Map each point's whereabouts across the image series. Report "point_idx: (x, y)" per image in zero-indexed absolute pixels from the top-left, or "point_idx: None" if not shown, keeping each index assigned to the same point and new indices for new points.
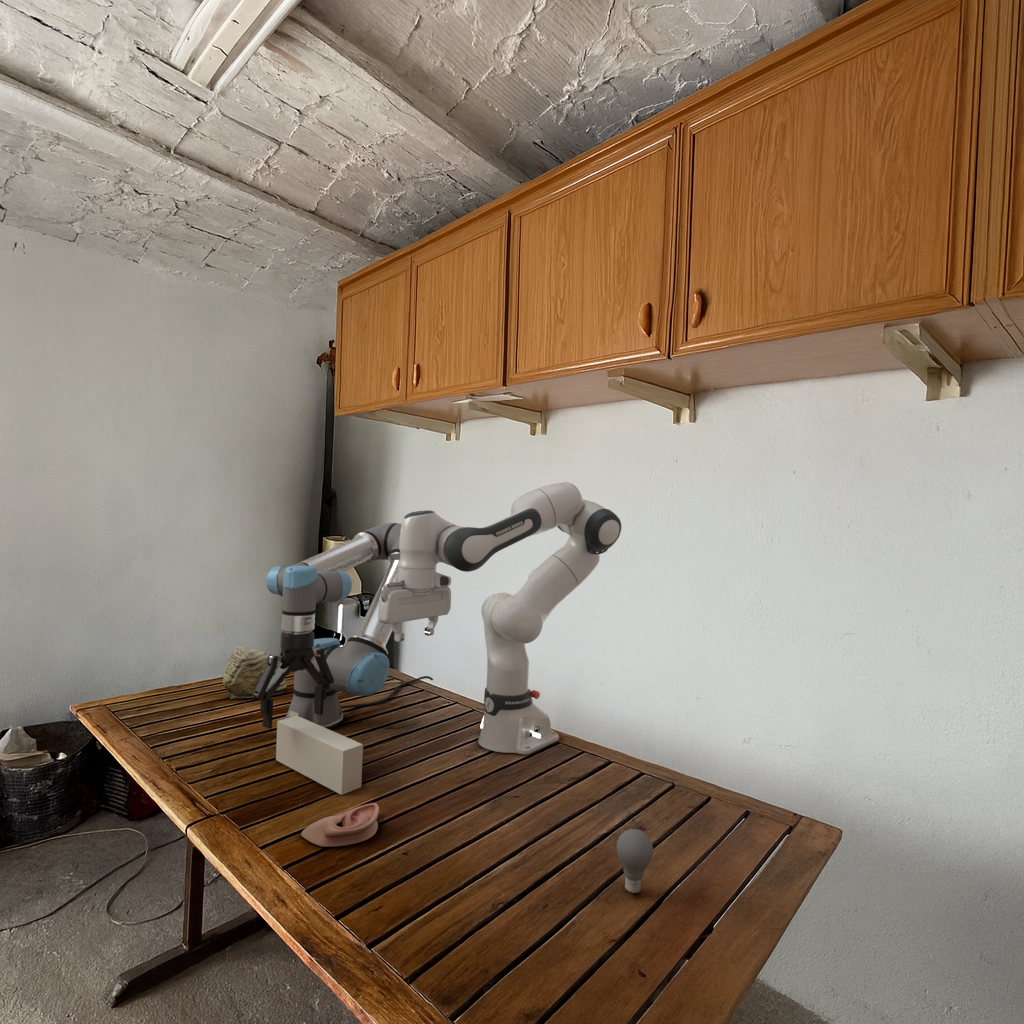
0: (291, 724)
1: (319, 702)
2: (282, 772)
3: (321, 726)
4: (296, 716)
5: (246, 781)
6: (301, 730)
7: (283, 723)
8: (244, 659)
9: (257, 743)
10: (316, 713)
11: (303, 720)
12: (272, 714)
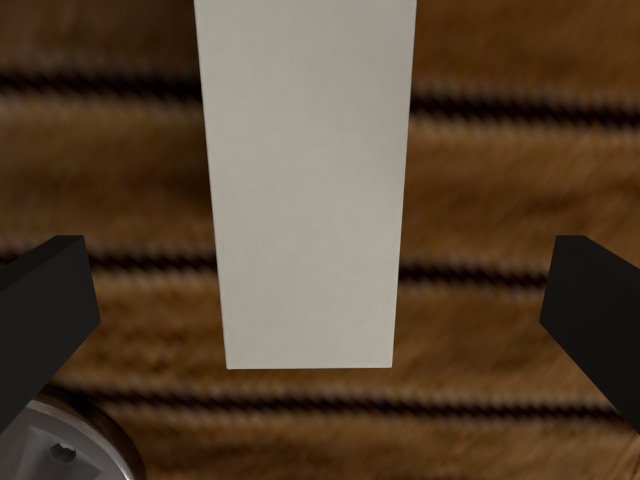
0: (365, 237)
1: (15, 310)
2: (420, 115)
3: (197, 3)
4: (239, 355)
5: (580, 146)
6: (394, 46)
7: (395, 295)
8: None
9: (317, 439)
10: (92, 290)
11: (244, 249)
12: (635, 287)
